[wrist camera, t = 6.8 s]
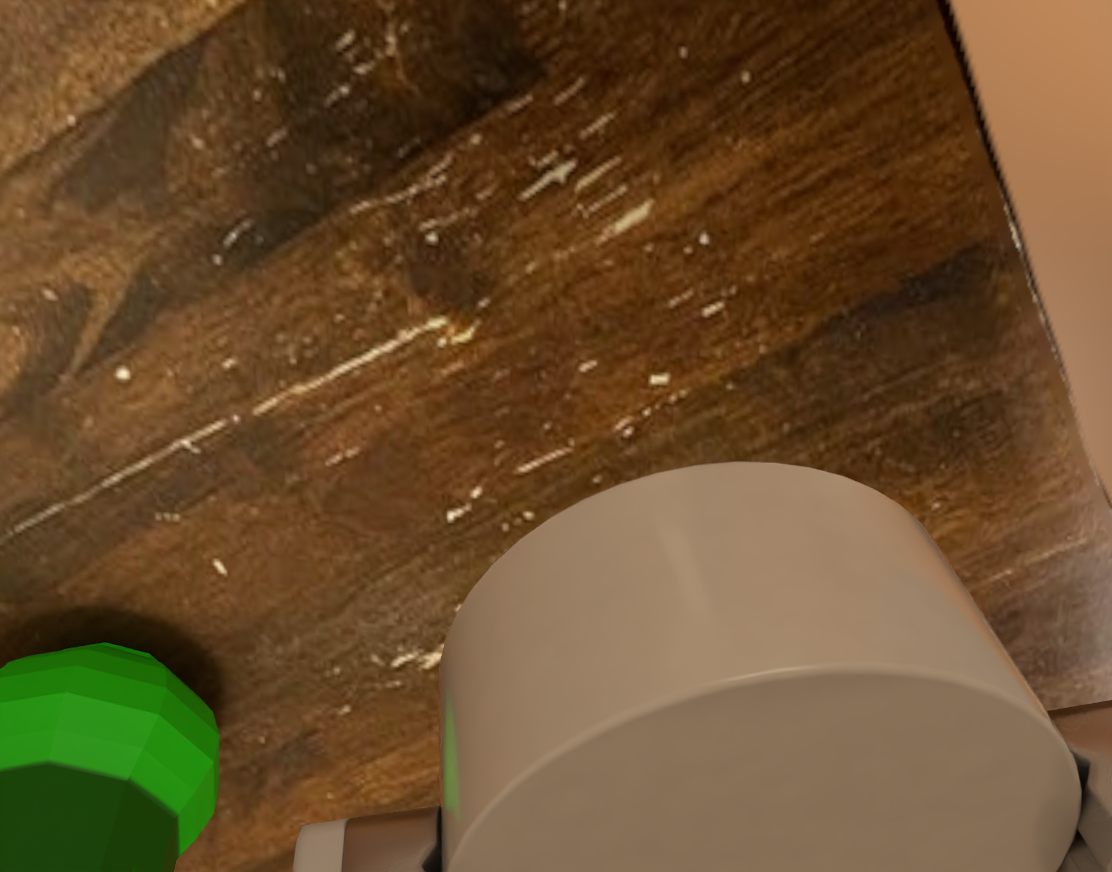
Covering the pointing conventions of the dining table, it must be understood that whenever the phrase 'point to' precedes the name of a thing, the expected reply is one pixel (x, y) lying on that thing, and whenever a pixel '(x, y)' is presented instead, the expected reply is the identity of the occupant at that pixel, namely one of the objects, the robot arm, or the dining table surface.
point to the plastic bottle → (102, 762)
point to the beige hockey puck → (741, 693)
